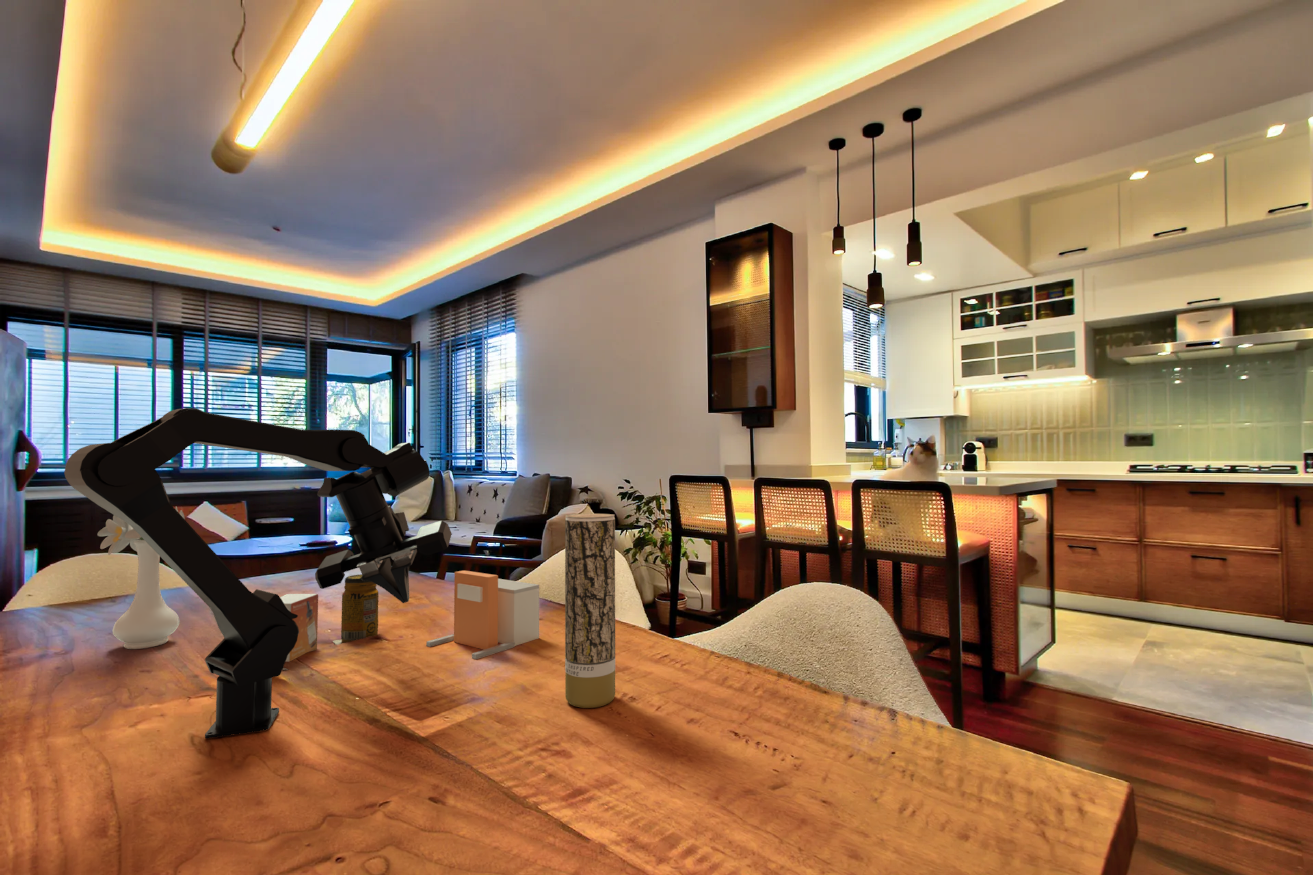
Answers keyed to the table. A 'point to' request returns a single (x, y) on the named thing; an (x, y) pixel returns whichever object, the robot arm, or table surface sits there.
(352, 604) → the condiment
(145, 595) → the flower vase
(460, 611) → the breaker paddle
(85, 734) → the table surface
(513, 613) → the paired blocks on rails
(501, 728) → the table surface
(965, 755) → the table surface
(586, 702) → the paper tube
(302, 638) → the small box
